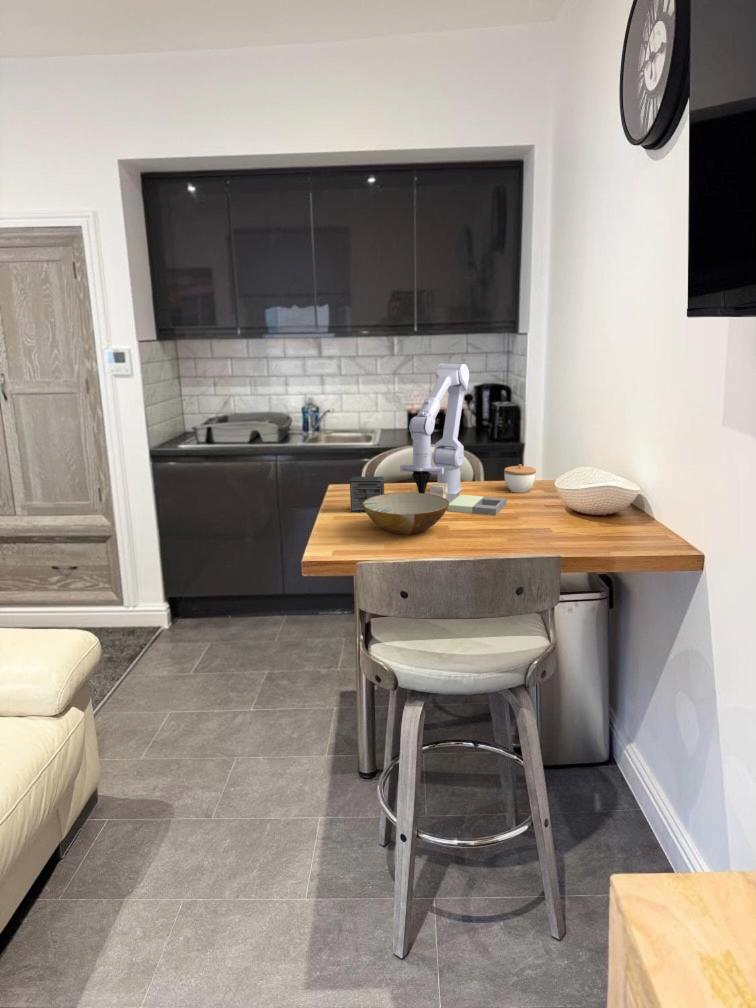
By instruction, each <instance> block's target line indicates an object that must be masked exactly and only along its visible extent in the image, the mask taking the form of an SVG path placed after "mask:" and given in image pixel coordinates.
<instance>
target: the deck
mask: <svg viewBox="0 0 756 1008" xmlns="http://www.w3.org/2000/svg"><path fill="white" fill-rule="evenodd" d="M411 493H419V492H418V490H414V491H411ZM425 494H430V491H425ZM446 499H447V500H448V501H449V506H448V508H447V511H446V512H454V511H456V512H455V513H457V512H458V513H468V514H477V513H478V515H488V514H490V516H496V514H497V513H500V511H502V510H503V508H504V507H505V506H506V505H507V497H493V496H483V495H482V496H480V495H470V494H468V495H467V494H459V493H457V494H447V498H446ZM497 515H498V514H497Z"/></svg>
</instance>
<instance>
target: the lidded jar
mask: <svg viewBox="0 0 756 1008" xmlns="http://www.w3.org/2000/svg"><path fill="white" fill-rule="evenodd" d="M536 471H537V469H536V468H534V467H531V466H526V465H525V466H524V465H522V464H520V463H519V464H518V465H512V466H508V467H505V468H504V480H505V486H507V488H508V489H509V490H510V492H512V493H516V492H517V493H518V494H519V493H520V494H521V493H522V494H524V493H528V492H529V490H530V489H531V488H532V487H533V486H534V484H535V481H536Z"/></svg>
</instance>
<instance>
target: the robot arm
mask: <svg viewBox="0 0 756 1008" xmlns="http://www.w3.org/2000/svg"><path fill="white" fill-rule="evenodd" d="M435 379H436V381H435V384H434V386H433V389H432V391H431V394H430V397H428V398H425V399H424V400H423V403H422V405H421V407H420V409H419V411H418V412H417V415H415V416H414V417H412V418H411V419H410V422H409V426H408V429H409V432H410V438H411V440H412V464H401V465H400V466H399V472H402V473H403V472H407V473H408V472H410V473H412V475H411V476H412V478H413V480H414V483H415V485H416V486H417V491H418V492H419V493H425V492H426V489H427V486H428V482H429V480H430V478H431V476H432V474H437V483H442V484H447V494H460V493H459V492H461V491H462V490H464V488H463V487H461V469H460V468H461V466H462V465H463V463H464V459H465V456H464V455H465V453H464V449H465V447H464V445H463V444H462V443H461V442H460V441H459V440H458V439H459V438H458V437H459V430H460V424H461V422H460V421H461V416H462V410H463V403H464V396H465V391H466V390H468V386H469V381H470V370H469V368H468V366H467V364H465V363H462V364H460V363H459V364H458V363H457V364H456V363H455V364H454V363H439V365H438V366H437V367H436V370H435ZM447 391H448V398H447V399H448V400H447V406H446V412H445V413H446V414H445V419H444V425H443V434H442V438H441V439H439V440H438V441H436V442H435V445H434V448H433V452H432V454H431V448H432V447H431V444H432V440H431V437H432V436H431V435H432V434H433V432H434V430H435V424H436V418H437V415H438V413H439V412H440V410H441V403H440V402H441V400H443V397H444V395H445V394H446V392H447ZM431 455H432V456H431ZM431 457H432V458H431ZM431 460H432V462H433V464H434V465H431V463H432V462H431Z"/></svg>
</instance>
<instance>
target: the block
mask: <svg viewBox="0 0 756 1008" xmlns="http://www.w3.org/2000/svg"><path fill="white" fill-rule="evenodd" d="M429 492H430V494H432V495H436V496H440V497H443V498H445V499H446V498H447V484H442V483H438V482H433V483H432V484H431V485H429Z"/></svg>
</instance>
